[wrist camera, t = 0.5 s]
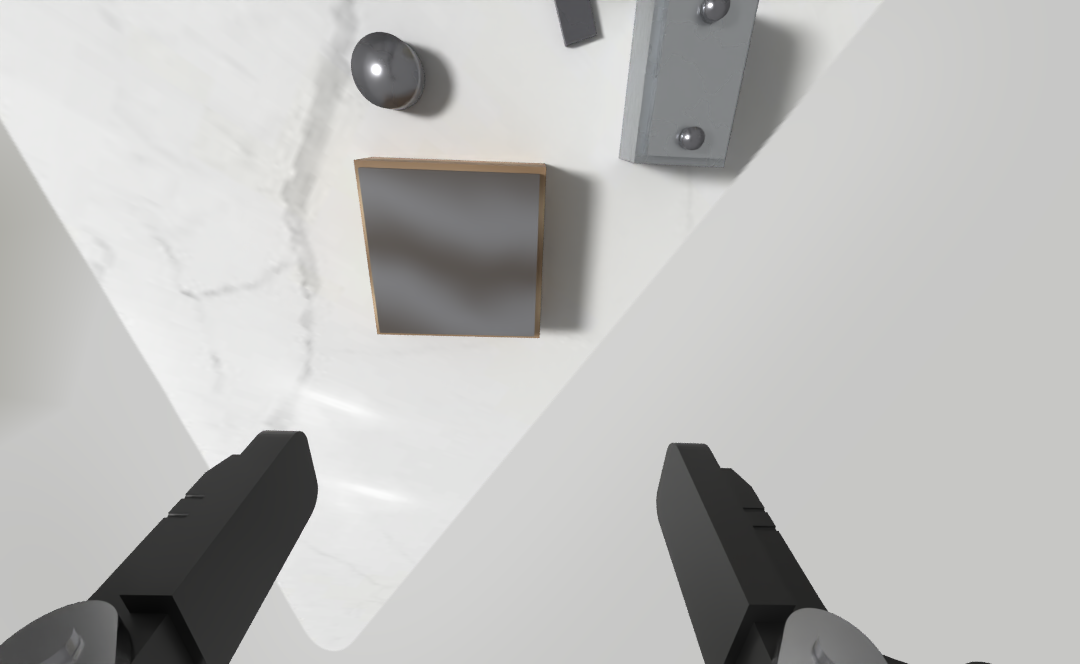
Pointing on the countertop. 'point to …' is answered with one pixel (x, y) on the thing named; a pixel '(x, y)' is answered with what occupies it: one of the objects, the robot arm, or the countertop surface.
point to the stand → (453, 245)
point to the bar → (575, 20)
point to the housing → (685, 80)
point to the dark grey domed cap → (387, 71)
